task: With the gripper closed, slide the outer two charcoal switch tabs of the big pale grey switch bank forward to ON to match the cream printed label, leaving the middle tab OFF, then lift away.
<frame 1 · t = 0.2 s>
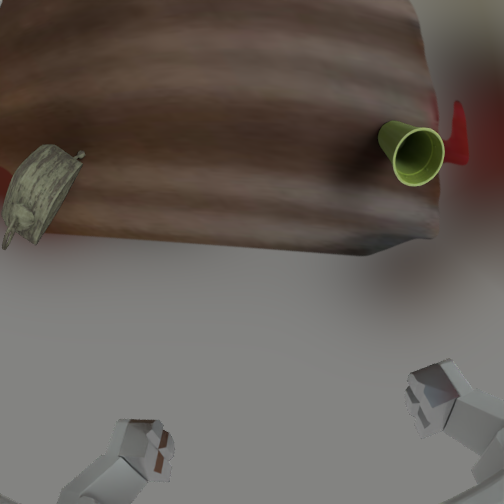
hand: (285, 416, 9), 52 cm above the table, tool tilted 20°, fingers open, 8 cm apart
plant pot: (392, 135, 56), on the table
tabletop clock: (62, 164, 53), on the table
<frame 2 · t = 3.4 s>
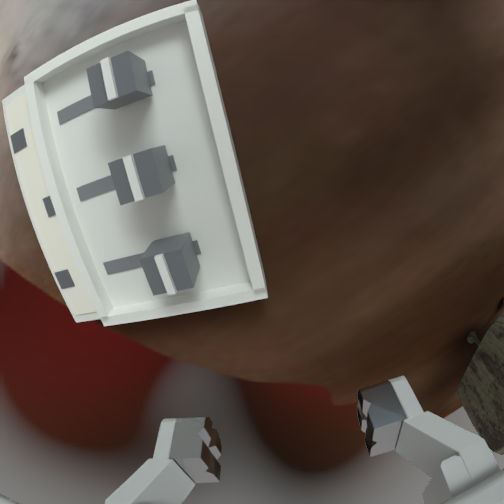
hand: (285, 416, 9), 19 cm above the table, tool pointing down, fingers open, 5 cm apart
tab a: (119, 81, 17), point 4 cm above the table, slide at 6.0 cm
tabletop clock: (477, 331, 33), on the table
tab b: (142, 173, 20), point 4 cm above the table, slide at 6.0 cm
switch bank: (121, 178, 24), on the table
tab c: (171, 264, 23), point 4 cm above the table, slide at 6.0 cm
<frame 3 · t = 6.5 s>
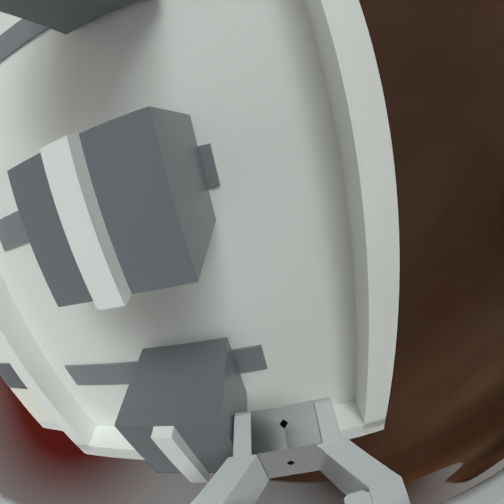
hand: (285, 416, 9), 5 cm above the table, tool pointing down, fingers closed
tab b: (121, 199, 6), point 4 cm above the table, slide at 6.0 cm
switch bank: (85, 197, 11), on the table
tab c: (189, 414, 9), point 4 cm above the table, slide at 5.3 cm, touching gripper
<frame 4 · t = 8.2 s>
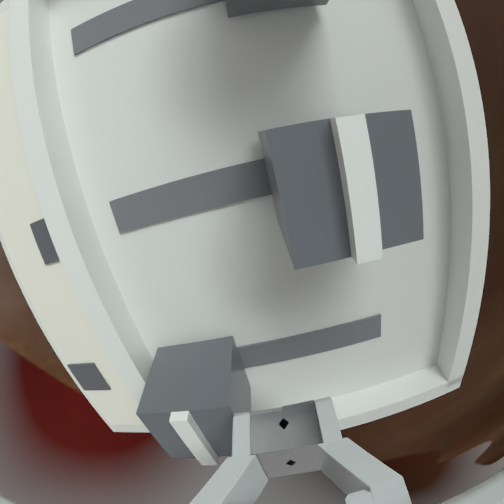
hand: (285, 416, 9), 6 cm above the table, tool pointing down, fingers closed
tab b: (335, 176, 7), point 4 cm above the table, slide at 6.0 cm
switch bank: (213, 181, 12), on the table
tab c: (200, 403, 10), point 4 cm above the table, slide at 0.2 cm, touching gripper
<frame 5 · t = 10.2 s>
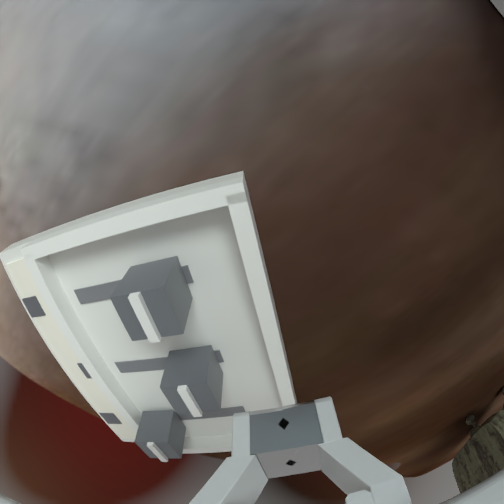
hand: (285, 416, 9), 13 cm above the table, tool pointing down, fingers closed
tab a: (153, 299, 17), point 4 cm above the table, slide at 6.0 cm
tabletop clock: (476, 412, 33), on the table
tab b: (193, 382, 20), point 4 cm above the table, slide at 6.0 cm
switch bank: (159, 347, 24), on the table
tab c: (161, 436, 23), point 4 cm above the table, slide at 0.2 cm
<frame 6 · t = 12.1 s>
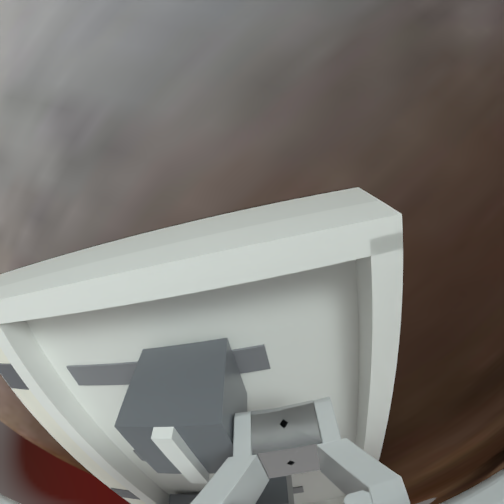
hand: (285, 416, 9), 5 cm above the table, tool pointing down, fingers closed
tab a: (189, 414, 9), point 4 cm above the table, slide at 5.2 cm, touching gripper
tab b: (257, 488, 12), point 4 cm above the table, slide at 6.0 cm
switch bank: (195, 428, 16), on the table
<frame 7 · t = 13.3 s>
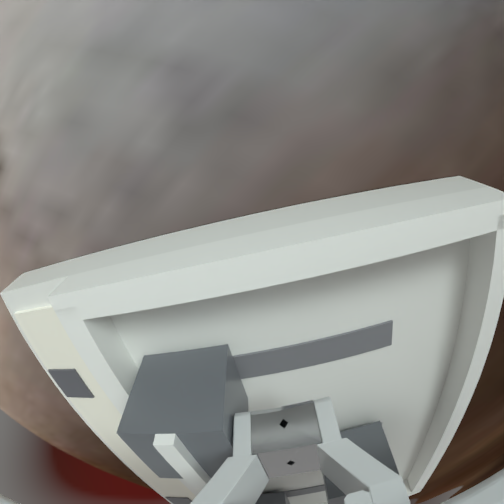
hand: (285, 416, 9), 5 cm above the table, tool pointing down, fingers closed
tab a: (191, 420, 9), point 4 cm above the table, slide at 0.4 cm, touching gripper
tab b: (356, 473, 11), point 4 cm above the table, slide at 6.0 cm
switch bank: (277, 423, 16), on the table
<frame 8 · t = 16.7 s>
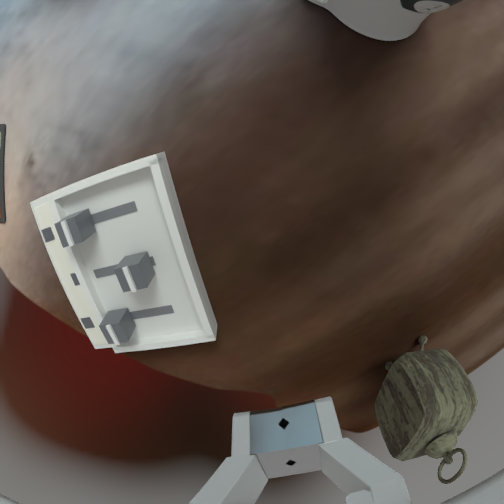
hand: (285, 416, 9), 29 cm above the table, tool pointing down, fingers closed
tab a: (74, 228, 32), point 4 cm above the table, slide at 0.2 cm
tabletop clock: (397, 361, 47), on the table
tab b: (134, 272, 34), point 4 cm above the table, slide at 6.0 cm
switch bank: (121, 262, 38), on the table
tab c: (117, 326, 37), point 4 cm above the table, slide at 0.2 cm
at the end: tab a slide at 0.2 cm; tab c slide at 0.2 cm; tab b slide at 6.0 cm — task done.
